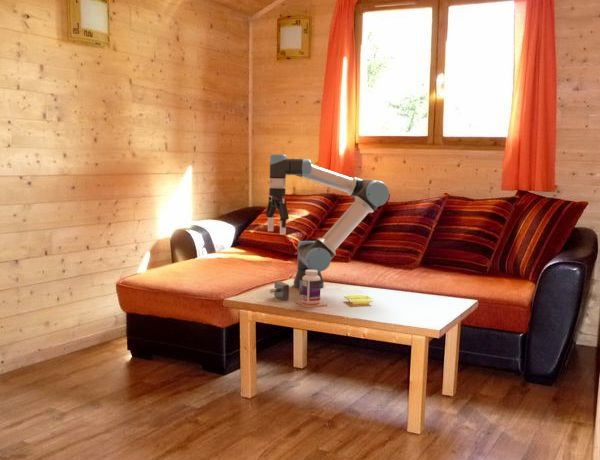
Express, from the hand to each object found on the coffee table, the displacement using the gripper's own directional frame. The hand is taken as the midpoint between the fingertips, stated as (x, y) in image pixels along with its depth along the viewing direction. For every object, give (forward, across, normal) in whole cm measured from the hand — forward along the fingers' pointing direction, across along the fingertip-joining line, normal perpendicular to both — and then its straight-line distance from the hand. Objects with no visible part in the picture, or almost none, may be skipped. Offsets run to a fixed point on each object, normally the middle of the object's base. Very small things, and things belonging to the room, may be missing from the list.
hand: (276, 232), depth 300 cm
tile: (+29, +27, +5) cm, 40 cm away
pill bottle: (+28, +27, +5) cm, 39 cm away
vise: (+29, +12, +4) cm, 31 cm away
